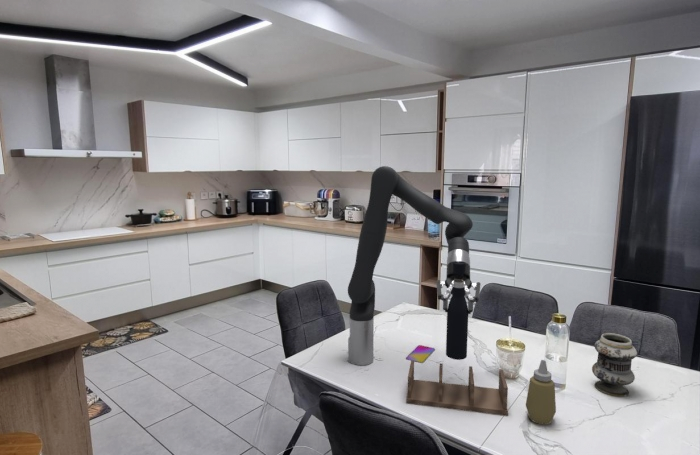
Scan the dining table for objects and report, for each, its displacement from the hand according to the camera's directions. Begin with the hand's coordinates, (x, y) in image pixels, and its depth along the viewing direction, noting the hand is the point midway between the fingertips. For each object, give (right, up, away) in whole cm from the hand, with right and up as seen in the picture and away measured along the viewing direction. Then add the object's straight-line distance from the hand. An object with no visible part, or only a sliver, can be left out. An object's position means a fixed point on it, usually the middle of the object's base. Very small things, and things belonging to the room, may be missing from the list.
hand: (457, 311), depth 127 cm
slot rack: (0, -29, +5) cm, 29 cm away
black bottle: (0, -15, +4) cm, 15 cm away
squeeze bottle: (+22, -30, -6) cm, 38 cm away
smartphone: (-5, -25, +38) cm, 46 cm away
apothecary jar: (+54, -28, +11) cm, 62 cm away
